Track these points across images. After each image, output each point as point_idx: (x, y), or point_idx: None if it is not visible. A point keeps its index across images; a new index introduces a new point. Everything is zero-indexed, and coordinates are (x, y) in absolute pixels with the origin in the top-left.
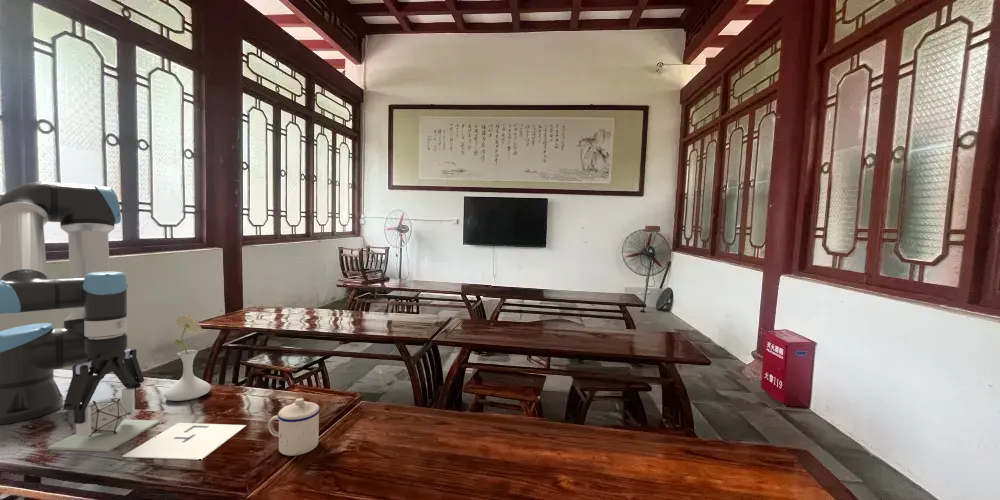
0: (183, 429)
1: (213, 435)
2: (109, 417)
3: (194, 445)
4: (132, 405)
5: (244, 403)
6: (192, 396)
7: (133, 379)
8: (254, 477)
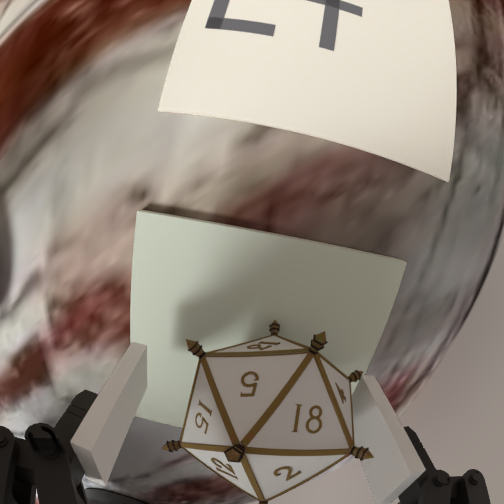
0: (241, 47)
1: None
2: (332, 385)
3: None
4: (129, 373)
5: (35, 9)
6: None
7: (45, 501)
8: None
